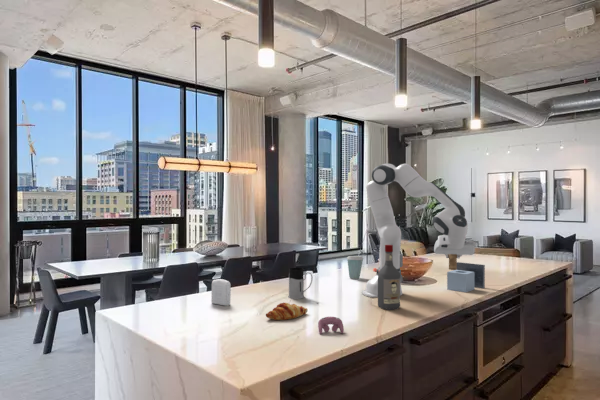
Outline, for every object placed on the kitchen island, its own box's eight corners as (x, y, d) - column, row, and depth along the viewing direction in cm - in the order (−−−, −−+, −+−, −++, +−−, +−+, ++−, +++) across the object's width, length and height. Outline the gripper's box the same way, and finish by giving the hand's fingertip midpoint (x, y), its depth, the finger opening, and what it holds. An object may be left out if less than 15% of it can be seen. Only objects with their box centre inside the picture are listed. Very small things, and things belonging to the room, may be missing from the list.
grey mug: (293, 294, 236) (293, 267, 236) (316, 297, 228) (316, 269, 228) (284, 297, 228) (284, 269, 228) (308, 300, 221) (308, 271, 221)
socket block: (466, 292, 238) (466, 274, 238) (447, 289, 246) (447, 271, 246) (474, 289, 246) (474, 271, 246) (455, 286, 254) (455, 269, 254)
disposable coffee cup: (344, 277, 288) (344, 255, 288) (358, 276, 291) (359, 254, 291) (350, 280, 278) (350, 257, 278) (366, 279, 281) (366, 256, 281)
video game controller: (343, 335, 169) (341, 317, 172) (344, 333, 165) (343, 314, 168) (317, 335, 169) (317, 317, 172) (319, 333, 165) (318, 315, 168)
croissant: (303, 320, 198) (299, 303, 201) (315, 313, 191) (310, 296, 194) (263, 326, 186) (259, 308, 189) (273, 320, 179) (269, 301, 182)
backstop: (469, 294, 236) (469, 268, 236) (442, 290, 247) (442, 265, 247) (484, 288, 250) (484, 264, 250) (458, 285, 261) (458, 262, 261)
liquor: (375, 306, 210) (375, 244, 210) (391, 304, 213) (391, 243, 213) (385, 310, 201) (385, 246, 201) (402, 308, 204) (402, 245, 204)
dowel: (451, 270, 230) (452, 247, 230) (447, 268, 233) (447, 246, 233) (458, 269, 231) (458, 247, 231) (453, 268, 234) (453, 246, 234)
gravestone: (231, 304, 213) (231, 279, 213) (226, 306, 209) (226, 280, 209) (215, 302, 218) (215, 277, 218) (210, 303, 214) (210, 279, 214)
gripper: (476, 236, 223) (472, 253, 233) (435, 235, 227) (432, 252, 237) (477, 246, 219) (473, 262, 228) (436, 245, 223) (433, 261, 232)
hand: (452, 257), depth 233 cm, fingers closed on dowel, 4 cm apart
